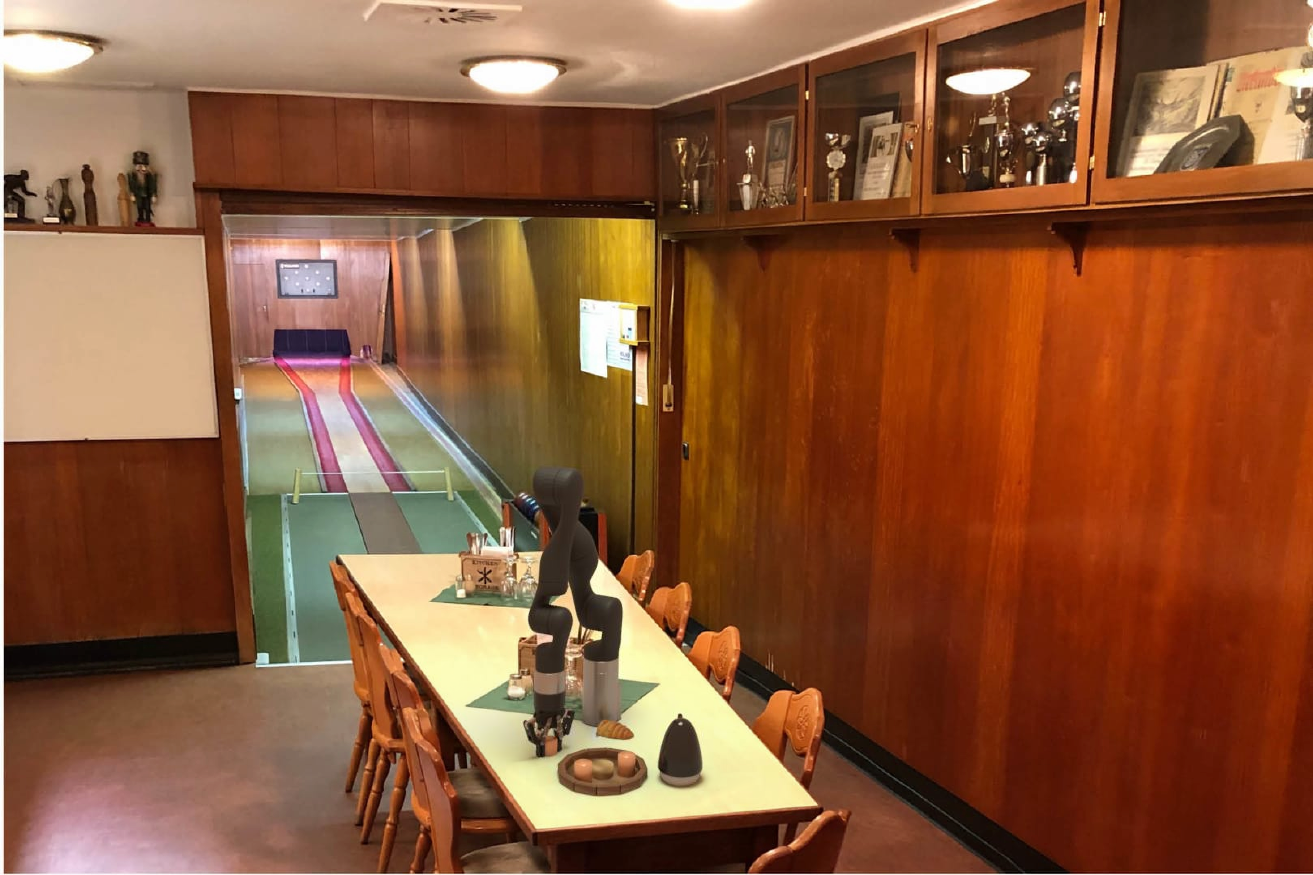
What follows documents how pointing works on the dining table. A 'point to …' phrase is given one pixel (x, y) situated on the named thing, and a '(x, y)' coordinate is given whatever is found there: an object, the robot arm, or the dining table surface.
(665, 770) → the black tapered dome
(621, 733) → the pastry
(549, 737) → the bead
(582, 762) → the bead
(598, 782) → the tray
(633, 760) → the bead
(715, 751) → the dining table surface
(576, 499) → the robot arm
